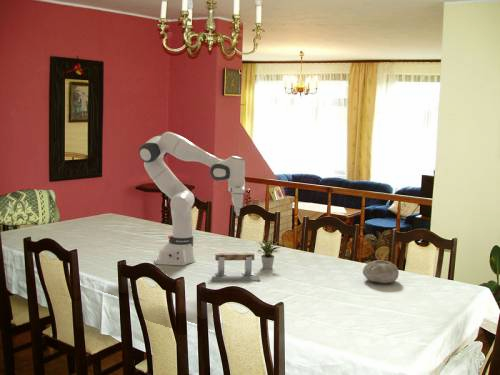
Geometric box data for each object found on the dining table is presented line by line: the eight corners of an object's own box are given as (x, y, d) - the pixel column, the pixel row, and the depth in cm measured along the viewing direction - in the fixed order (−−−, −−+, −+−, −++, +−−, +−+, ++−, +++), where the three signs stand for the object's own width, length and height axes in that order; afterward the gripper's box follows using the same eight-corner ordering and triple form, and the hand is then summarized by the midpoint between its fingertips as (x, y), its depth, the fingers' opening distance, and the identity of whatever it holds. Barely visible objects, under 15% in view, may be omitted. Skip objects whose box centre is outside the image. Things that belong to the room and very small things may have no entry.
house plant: (260, 272, 314) (261, 242, 312) (248, 265, 326) (249, 236, 324) (283, 269, 321) (284, 239, 318) (271, 263, 333) (272, 234, 331)
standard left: (216, 276, 306) (216, 257, 304) (215, 272, 312) (216, 254, 311) (226, 276, 306) (226, 257, 305) (225, 272, 313) (225, 254, 311)
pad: (212, 281, 297) (212, 280, 297) (211, 277, 304) (211, 276, 304) (260, 281, 300) (260, 279, 300) (258, 276, 307) (258, 275, 307)
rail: (215, 260, 306) (215, 254, 306) (215, 258, 309) (215, 253, 309) (254, 260, 308) (254, 254, 308) (253, 258, 311) (253, 253, 311)
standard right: (243, 276, 307) (244, 257, 306) (242, 272, 314) (243, 254, 312) (253, 276, 308) (253, 257, 306) (252, 272, 314) (252, 254, 313)
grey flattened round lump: (391, 289, 292) (392, 269, 290) (357, 282, 301) (357, 263, 299) (402, 280, 307) (404, 261, 305) (369, 274, 316) (370, 255, 314)
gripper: (228, 184, 319) (229, 210, 321) (232, 190, 299) (232, 217, 301) (240, 184, 320) (240, 210, 322) (244, 190, 300) (244, 217, 302)
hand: (236, 213), depth 312 cm, fingers open, 8 cm apart
